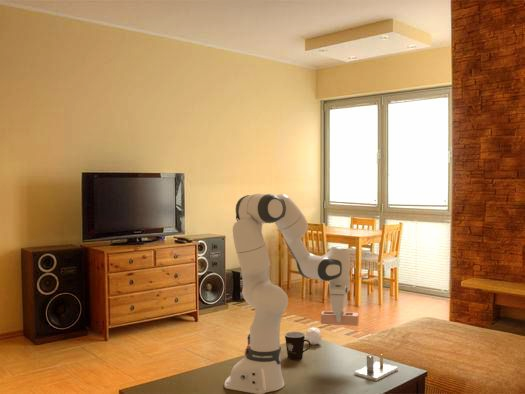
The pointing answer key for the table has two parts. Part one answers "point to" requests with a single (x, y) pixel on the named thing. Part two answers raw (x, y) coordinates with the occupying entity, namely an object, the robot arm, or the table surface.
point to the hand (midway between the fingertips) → (339, 319)
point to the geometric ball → (313, 335)
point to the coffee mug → (295, 345)
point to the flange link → (346, 318)
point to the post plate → (375, 369)
